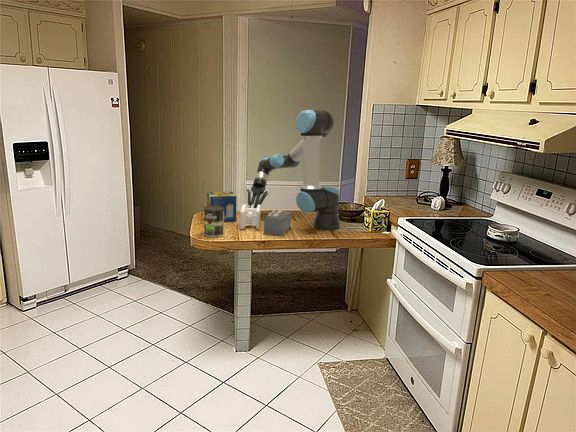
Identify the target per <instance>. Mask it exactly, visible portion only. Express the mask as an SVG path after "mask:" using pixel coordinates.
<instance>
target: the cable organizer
mask: <svg viewBox="0 0 576 432" xmlns="http://www.w3.org/2000/svg"><path fill="white" fill-rule="evenodd" d="M261 205H262V204H261ZM261 205H258V206H257V208H249V207H247V204H245V203H244V204H242V205H241V208H240V209H239V214H240V222H239V223H240V229H241V230H244V229H245V228H246V226H247V227H249V226H253V227H256V228H255V229H257V230H260V227H261V226H260V225H261V214H262V213H261V210H262V209H261V207H262V206H261Z"/></svg>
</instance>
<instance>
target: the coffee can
mask: <svg viewBox="0 0 576 432" xmlns="http://www.w3.org/2000/svg"><path fill="white" fill-rule="evenodd" d="M203 211H204V212H203V213H204V214H203V216H204V217H203V220H204V221H203V222H204V223H203V225H204V226H203V232H204V233H203V235H204V236H206V237H208V238H219V237H222V236H224V234H225V233H224V232H225V229H224V228H225V222H224V207H221V206H207V205H206V206H204V207H203Z"/></svg>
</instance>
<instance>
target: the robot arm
mask: <svg viewBox="0 0 576 432" xmlns="http://www.w3.org/2000/svg"><path fill="white" fill-rule="evenodd" d="M295 126H296V129H297V131H298V132H299V133H300V137H301V138H302V139H301V140H300V141H299V142H298V143H296V145H295V146H294V148H293V149H291V150H290V152H289V153H287V154H285V155H282V154H281V153H275V154H273V155H271V156H270V157H261V158H260V161H259V162H258V165H257V170H256V174H255V176H254V180H253V183H252V186H251V188H250V189H249V188H248V189H246V192H247V201H246V202H247V204H248V206H249V207H248V208H257V206H258V205H262V204H263V202H264V200H265V199H266V197H267V196H268V195H269V193H268V190H266V187H267V182H268V180H269V176H270V173H271V172H273V171H274V170H275V171H276V170H277V169H287V168H288V169H290V168H296V167H299V165H300V164H301V159H302V158H303V159H302V161H303V166H302V167H303V170H302V171H303V173H302V174H303V180H302V181H303V183H302V185H301V187H300V191H299V192H297V195H296V197H295V202H296V206H297V207H298V209H299V210H300V211H301V212H303V213H307V214H308V213H313V212H316V215H315V218H314V219H313V224H312V225H313V227H315V228H316V229H320V230H326V231H327V230H331V231H332V230H337V229H340V228H341V227H340V226H341V223H340V222H341V221H340V218H339V201H340V189H339V188H338V187H334V186H329V185H321V184H320V141H321V139H323V138H326V137H327V136H328V135H329V134H330V133H331V132H332V131H333V129H334V126H335V118H334V115H333V114H332V113H331V112H329V111H328V110H326V109H321V110H320V109H319V110H318V109H307V110H306V109H305V110H302V111H301V112H299V114H298V115H297V117H296V120H295ZM251 194H252V195H251Z"/></svg>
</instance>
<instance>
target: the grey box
mask: <svg viewBox="0 0 576 432" xmlns="http://www.w3.org/2000/svg"><path fill="white" fill-rule="evenodd" d="M291 218H292V211H287V210H279V209H273V210H272V211H271V212H269V213H268V214H266V215H265V217H264V220H263V221H264V222H263V234H264V235H267V236H268V235H269V236H270V235H271V236H278V237H283V236H284V235H285V234H286V232H287V231H288V230H289V229H290V228H291V221H292V219H291Z"/></svg>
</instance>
